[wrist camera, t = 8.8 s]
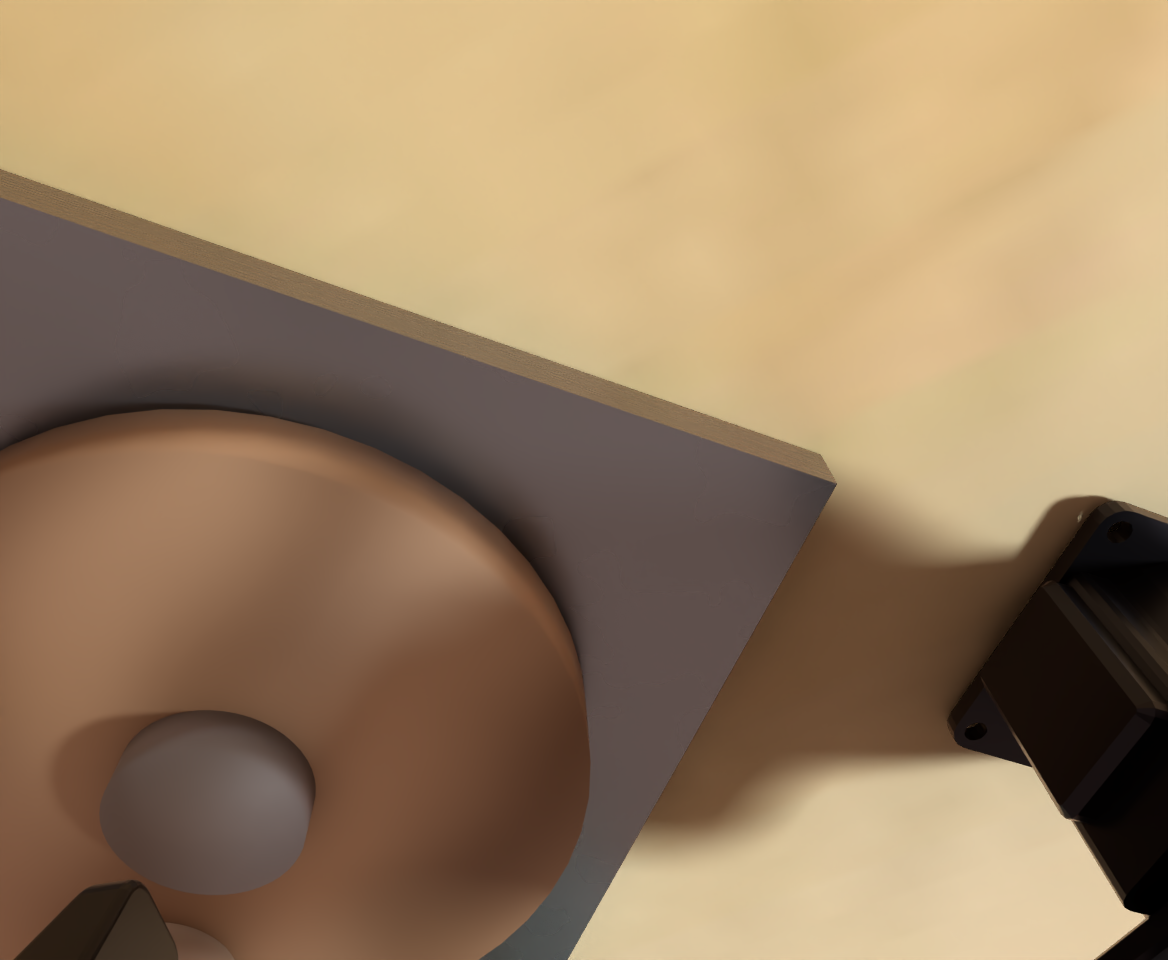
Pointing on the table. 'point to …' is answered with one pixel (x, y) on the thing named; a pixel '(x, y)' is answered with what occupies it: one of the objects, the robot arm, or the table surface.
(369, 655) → the cam dial
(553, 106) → the table surface
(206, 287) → the level stand
